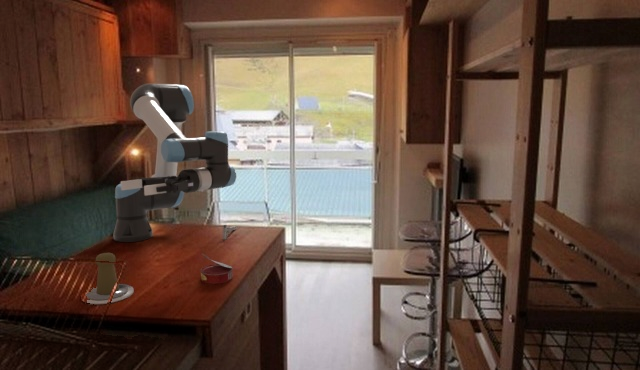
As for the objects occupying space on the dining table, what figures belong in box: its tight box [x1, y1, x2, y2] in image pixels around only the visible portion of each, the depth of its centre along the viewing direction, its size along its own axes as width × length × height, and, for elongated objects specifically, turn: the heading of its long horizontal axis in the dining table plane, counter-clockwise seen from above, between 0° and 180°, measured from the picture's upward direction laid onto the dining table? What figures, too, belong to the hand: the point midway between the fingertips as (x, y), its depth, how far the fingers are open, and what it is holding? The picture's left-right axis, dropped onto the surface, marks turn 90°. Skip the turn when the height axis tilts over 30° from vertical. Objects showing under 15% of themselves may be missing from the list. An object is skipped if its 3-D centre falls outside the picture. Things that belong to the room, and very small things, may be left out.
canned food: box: [200, 253, 234, 284], centre depth 148 cm, size 11×10×10 cm
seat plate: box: [86, 283, 135, 306], centre depth 134 cm, size 14×14×1 cm
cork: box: [95, 252, 119, 295], centre depth 134 cm, size 6×6×11 cm
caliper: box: [222, 224, 238, 241], centre depth 200 cm, size 20×1×6 cm, turn 177°
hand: (132, 188), depth 137 cm, fingers open, 13 cm apart
